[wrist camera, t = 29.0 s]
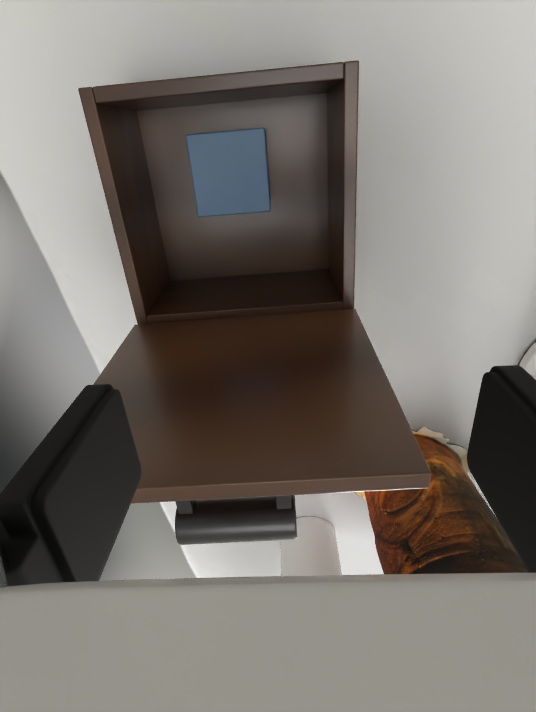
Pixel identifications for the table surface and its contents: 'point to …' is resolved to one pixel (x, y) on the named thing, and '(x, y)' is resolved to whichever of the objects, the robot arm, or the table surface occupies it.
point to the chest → (238, 231)
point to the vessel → (439, 520)
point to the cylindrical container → (311, 550)
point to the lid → (259, 420)
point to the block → (230, 172)
